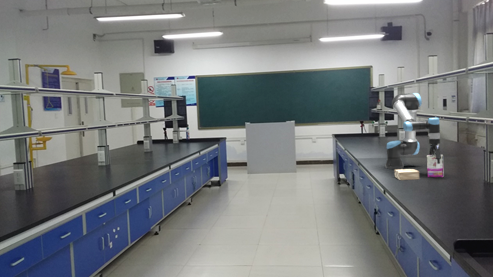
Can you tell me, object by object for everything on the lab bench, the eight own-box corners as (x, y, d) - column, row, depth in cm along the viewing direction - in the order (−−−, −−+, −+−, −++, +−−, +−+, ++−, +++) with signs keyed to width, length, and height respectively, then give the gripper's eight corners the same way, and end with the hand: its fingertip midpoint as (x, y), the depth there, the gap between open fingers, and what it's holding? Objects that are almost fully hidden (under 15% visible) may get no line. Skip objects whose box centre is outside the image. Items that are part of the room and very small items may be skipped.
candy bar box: (443, 176, 312) (443, 154, 311) (443, 177, 308) (443, 155, 307) (427, 176, 318) (427, 154, 317) (427, 177, 313) (426, 155, 312)
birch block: (394, 177, 322) (394, 169, 322) (413, 176, 321) (413, 168, 321) (399, 180, 308) (399, 172, 308) (419, 179, 307) (419, 171, 307)
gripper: (424, 137, 324) (425, 164, 325) (434, 140, 299) (435, 169, 300) (434, 137, 323) (435, 164, 324) (445, 139, 298) (446, 168, 299)
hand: (435, 166), depth 312 cm, fingers open, 13 cm apart
